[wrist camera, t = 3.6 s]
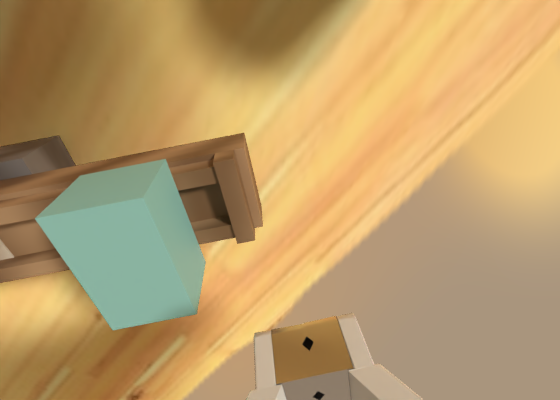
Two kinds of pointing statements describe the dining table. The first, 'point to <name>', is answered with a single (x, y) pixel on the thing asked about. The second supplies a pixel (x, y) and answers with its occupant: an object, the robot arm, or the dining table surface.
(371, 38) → the dining table surface
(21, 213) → the beam
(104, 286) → the block
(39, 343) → the dining table surface
